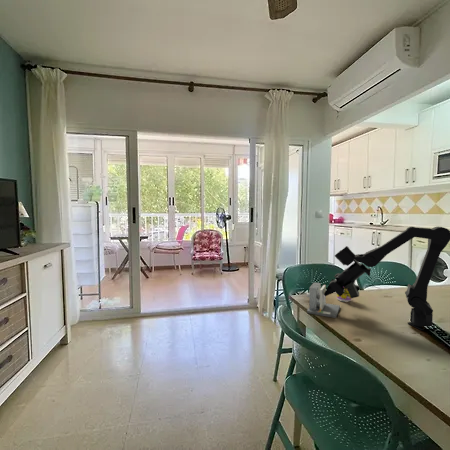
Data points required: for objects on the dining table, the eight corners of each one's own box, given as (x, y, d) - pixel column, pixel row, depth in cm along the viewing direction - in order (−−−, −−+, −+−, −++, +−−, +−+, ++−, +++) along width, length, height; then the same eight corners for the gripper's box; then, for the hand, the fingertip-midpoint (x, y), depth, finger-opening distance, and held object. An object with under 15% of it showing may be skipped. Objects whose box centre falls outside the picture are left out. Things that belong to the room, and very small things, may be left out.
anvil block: (320, 303, 127) (320, 283, 126) (316, 310, 118) (316, 288, 118) (313, 302, 128) (314, 282, 128) (309, 309, 120) (309, 287, 119)
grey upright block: (325, 303, 125) (325, 285, 125) (321, 311, 115) (321, 291, 115) (309, 301, 129) (309, 283, 128) (303, 308, 119) (303, 289, 119)
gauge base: (340, 307, 124) (340, 305, 124) (335, 318, 112) (335, 315, 112) (313, 303, 130) (313, 301, 130) (306, 312, 118) (306, 310, 118)
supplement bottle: (336, 300, 134) (336, 275, 133) (337, 297, 140) (337, 272, 139) (351, 302, 131) (351, 277, 130) (351, 299, 136) (352, 274, 136)
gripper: (365, 294, 104) (335, 316, 110) (367, 283, 120) (340, 303, 126) (344, 272, 108) (315, 295, 114) (348, 264, 124) (323, 284, 130)
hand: (324, 295), depth 121 cm, fingers closed
